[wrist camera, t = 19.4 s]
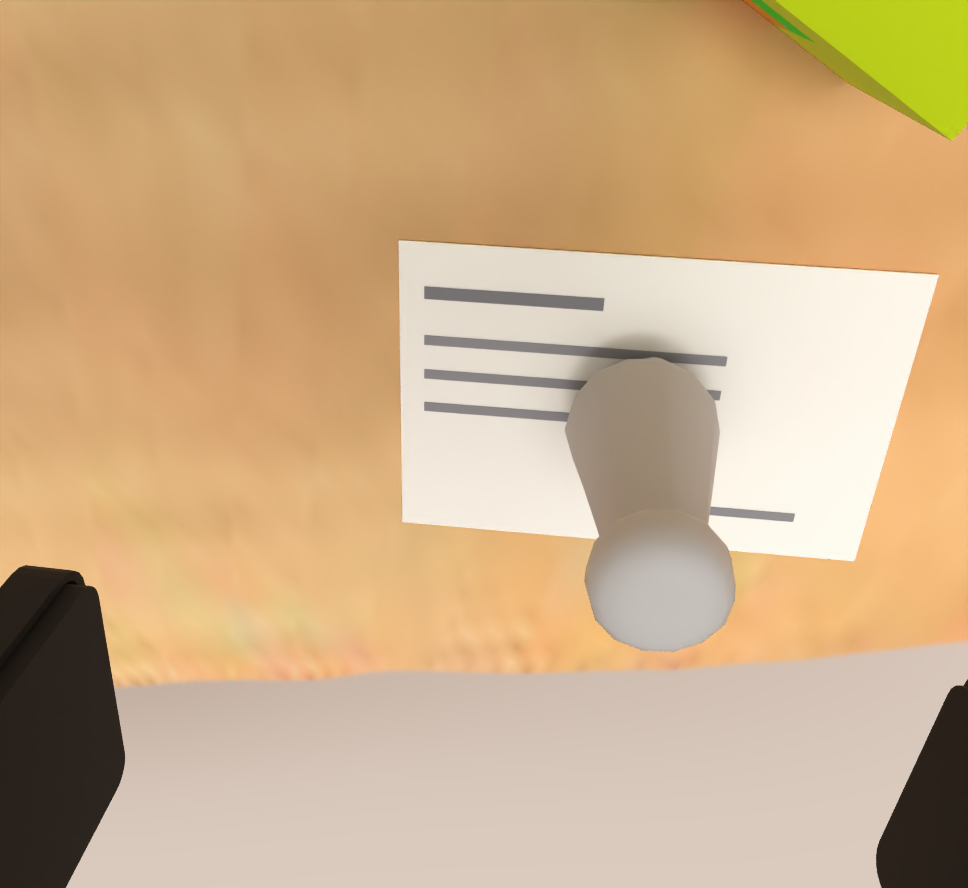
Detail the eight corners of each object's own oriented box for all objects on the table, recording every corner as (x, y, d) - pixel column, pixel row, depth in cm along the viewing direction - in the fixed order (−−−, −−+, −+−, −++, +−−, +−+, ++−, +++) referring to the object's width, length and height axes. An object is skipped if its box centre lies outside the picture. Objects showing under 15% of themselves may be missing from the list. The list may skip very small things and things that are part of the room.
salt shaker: (543, 429, 38) (524, 640, 26) (606, 313, 35) (615, 492, 23) (668, 483, 38) (701, 712, 27) (740, 373, 35) (810, 576, 24)
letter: (402, 520, 41) (402, 522, 41) (399, 239, 34) (398, 241, 34) (853, 559, 39) (854, 562, 39) (938, 274, 33) (939, 275, 33)
